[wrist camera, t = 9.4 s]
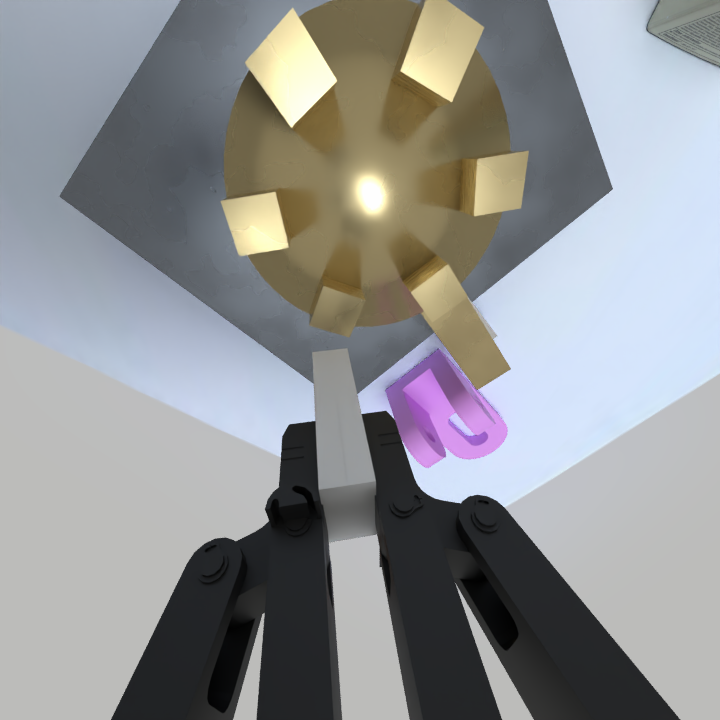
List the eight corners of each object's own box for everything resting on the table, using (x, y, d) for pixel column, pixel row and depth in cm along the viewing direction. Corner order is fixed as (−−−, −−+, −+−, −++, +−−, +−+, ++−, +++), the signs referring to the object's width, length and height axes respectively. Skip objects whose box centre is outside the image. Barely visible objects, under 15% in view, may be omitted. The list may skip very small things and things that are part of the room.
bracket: (385, 389, 27) (405, 453, 21) (438, 347, 25) (476, 405, 20) (463, 455, 33) (495, 519, 27) (509, 426, 32) (554, 487, 26)
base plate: (90, 190, 17) (58, 196, 15) (395, -278, 11) (416, -382, 9) (368, 406, 28) (373, 428, 25) (598, 228, 22) (629, 236, 20)
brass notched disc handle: (180, 168, 15) (136, 173, 11) (394, -67, 12) (435, -171, 8) (404, 401, 24) (421, 447, 20) (553, 303, 21) (605, 335, 17)
